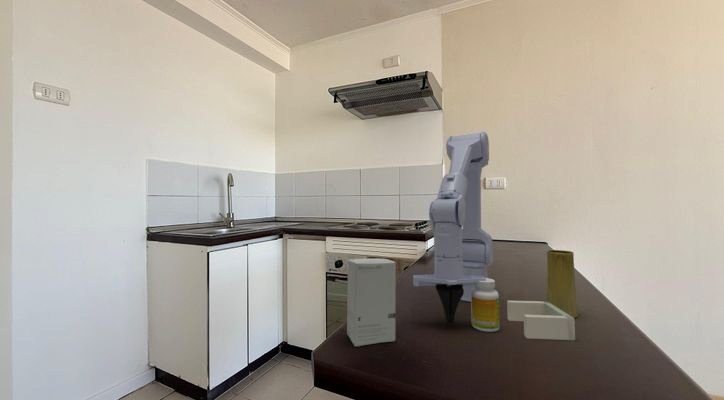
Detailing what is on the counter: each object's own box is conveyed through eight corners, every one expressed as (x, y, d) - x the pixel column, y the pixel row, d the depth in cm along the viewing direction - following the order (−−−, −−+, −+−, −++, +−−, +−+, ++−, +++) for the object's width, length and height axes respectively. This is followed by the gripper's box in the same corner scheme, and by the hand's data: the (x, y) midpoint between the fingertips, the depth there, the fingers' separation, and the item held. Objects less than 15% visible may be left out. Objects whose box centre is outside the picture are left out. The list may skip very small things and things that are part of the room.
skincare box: (354, 348, 53) (353, 263, 53) (346, 334, 59) (345, 258, 59) (397, 341, 55) (396, 260, 56) (385, 328, 61) (385, 255, 62)
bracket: (526, 338, 56) (526, 316, 56) (507, 318, 66) (507, 300, 66) (575, 340, 55) (574, 318, 55) (548, 320, 65) (547, 301, 65)
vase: (567, 309, 71) (566, 249, 72) (584, 319, 65) (582, 253, 66) (540, 309, 72) (539, 249, 72) (554, 318, 66) (552, 253, 66)
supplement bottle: (502, 333, 58) (501, 283, 59) (473, 331, 59) (472, 282, 60) (496, 323, 64) (495, 277, 64) (469, 321, 65) (468, 276, 65)
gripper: (414, 258, 60) (415, 327, 59) (490, 259, 58) (491, 329, 58) (412, 253, 67) (413, 314, 66) (480, 253, 65) (481, 316, 65)
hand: (449, 320), depth 62 cm, fingers closed
